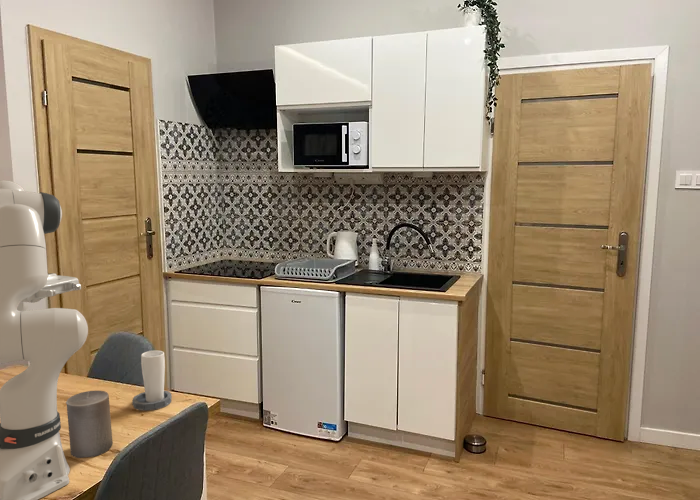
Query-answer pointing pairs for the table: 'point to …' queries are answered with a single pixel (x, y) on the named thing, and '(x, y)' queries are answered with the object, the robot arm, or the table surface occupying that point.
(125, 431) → the table surface
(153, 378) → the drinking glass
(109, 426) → the pillar candle
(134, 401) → the coaster
